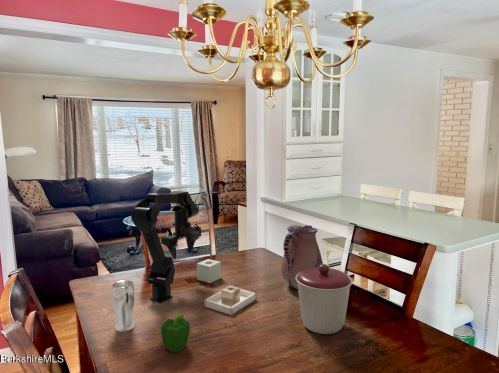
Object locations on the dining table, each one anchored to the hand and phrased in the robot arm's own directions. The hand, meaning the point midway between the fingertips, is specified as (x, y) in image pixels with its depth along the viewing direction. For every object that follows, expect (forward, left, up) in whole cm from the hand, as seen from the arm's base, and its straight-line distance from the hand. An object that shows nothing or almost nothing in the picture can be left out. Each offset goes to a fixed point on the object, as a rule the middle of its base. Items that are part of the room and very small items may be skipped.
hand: (182, 256), depth 156 cm
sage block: (+10, -6, -12) cm, 17 cm away
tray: (-4, -29, -12) cm, 32 cm away
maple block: (-4, -29, -12) cm, 31 cm away
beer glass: (-38, -11, -12) cm, 41 cm away
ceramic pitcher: (+24, -44, -12) cm, 52 cm away
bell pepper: (-37, -34, -12) cm, 52 cm away
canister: (-1, -65, -12) cm, 66 cm away
